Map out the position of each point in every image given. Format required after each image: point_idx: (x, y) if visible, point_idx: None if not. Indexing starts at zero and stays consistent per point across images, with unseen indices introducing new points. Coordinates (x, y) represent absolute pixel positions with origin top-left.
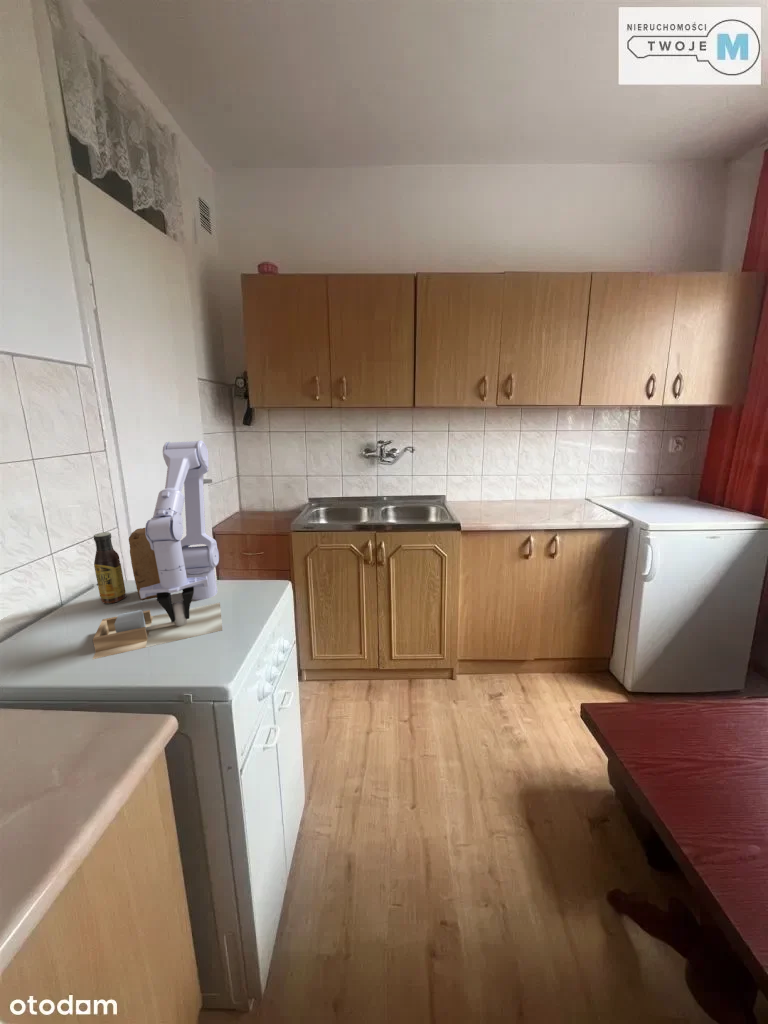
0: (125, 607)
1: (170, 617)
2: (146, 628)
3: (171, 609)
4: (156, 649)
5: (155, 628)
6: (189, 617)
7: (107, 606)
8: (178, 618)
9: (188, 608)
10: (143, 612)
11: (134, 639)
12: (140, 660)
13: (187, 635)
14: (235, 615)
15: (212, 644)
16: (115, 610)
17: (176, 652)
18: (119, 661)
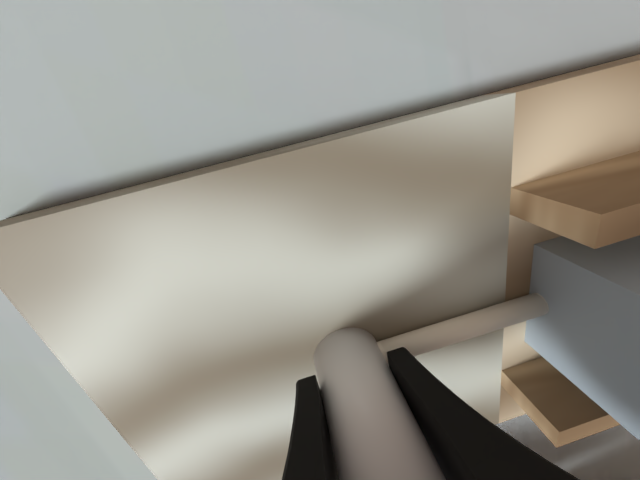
0: (576, 473)
1: (423, 371)
2: (532, 305)
3: (443, 444)
4: None
5: (481, 310)
6: None
7: (623, 474)
8: (365, 370)
9: (291, 465)
10: (588, 426)
11: (600, 176)
12: (509, 5)
13: (254, 204)
14: (70, 438)
15: (30, 104)
16: (604, 457)
17: (293, 50)
18: (616, 37)
